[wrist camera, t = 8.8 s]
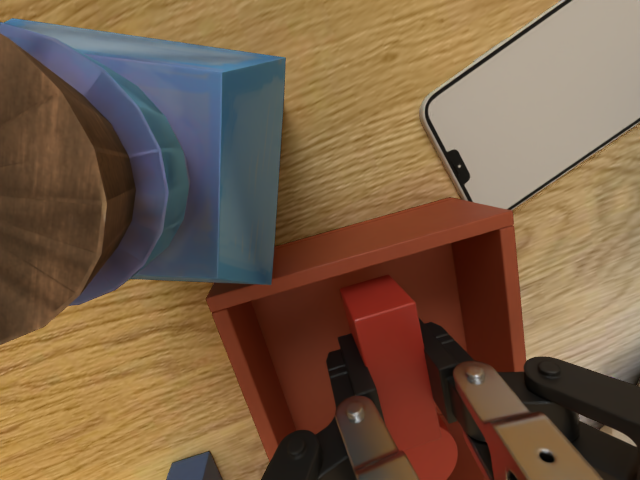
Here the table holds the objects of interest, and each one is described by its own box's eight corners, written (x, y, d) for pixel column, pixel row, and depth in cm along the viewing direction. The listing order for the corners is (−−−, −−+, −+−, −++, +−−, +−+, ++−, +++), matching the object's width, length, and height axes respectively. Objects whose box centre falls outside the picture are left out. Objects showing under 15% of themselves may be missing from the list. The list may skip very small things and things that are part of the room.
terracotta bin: (226, 259, 15) (204, 298, 11) (450, 196, 16) (513, 210, 12) (298, 460, 19) (303, 549, 15) (480, 402, 19) (536, 471, 15)
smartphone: (731, 61, 16) (482, 231, 16) (713, 65, 16) (474, 229, 17) (697, -97, 14) (414, 103, 14) (678, -86, 14) (408, 106, 15)
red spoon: (317, 293, 13) (327, 328, 10) (409, 267, 13) (441, 294, 11) (368, 471, 16) (386, 536, 13) (443, 446, 16) (477, 505, 13)
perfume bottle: (275, 236, 15) (256, 465, 4) (140, 228, 15) (-408, 489, 3) (283, 102, 14) (295, -186, 2) (134, 83, 13) (-972, -504, 2)
